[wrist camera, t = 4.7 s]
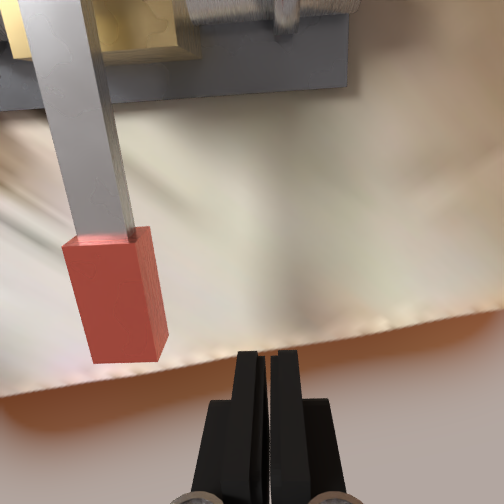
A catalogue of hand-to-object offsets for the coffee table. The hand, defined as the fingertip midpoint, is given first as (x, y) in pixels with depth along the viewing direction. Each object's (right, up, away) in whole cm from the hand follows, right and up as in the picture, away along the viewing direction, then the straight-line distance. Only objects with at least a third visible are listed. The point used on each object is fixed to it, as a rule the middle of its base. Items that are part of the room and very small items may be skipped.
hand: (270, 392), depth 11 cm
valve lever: (-6, +7, +3) cm, 10 cm away
